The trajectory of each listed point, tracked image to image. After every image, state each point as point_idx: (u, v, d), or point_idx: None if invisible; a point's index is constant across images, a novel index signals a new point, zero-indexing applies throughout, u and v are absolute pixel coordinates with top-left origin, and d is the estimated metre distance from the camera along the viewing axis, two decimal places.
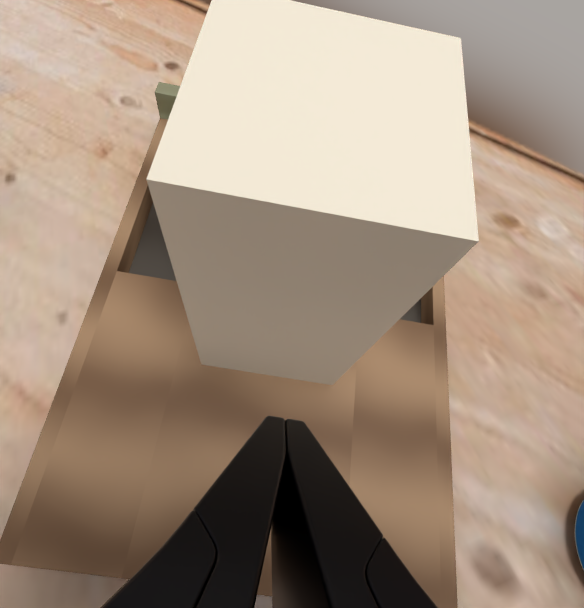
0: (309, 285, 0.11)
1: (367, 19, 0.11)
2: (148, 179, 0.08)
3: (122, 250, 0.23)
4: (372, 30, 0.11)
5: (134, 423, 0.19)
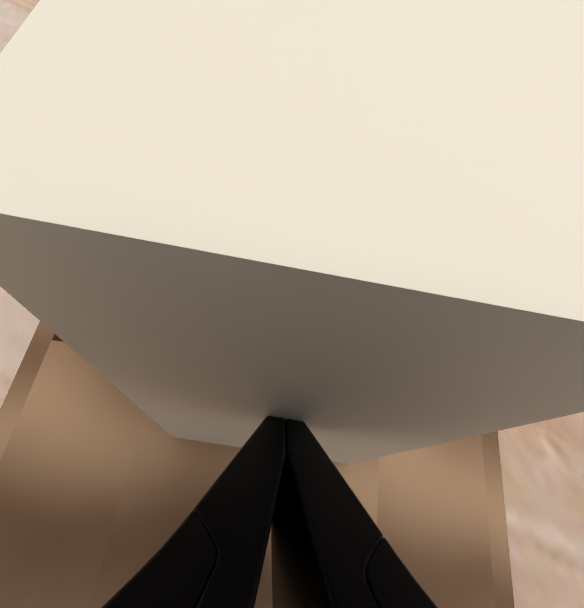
0: (335, 391, 0.06)
1: None
2: None
3: None
4: None
5: (58, 578, 0.13)
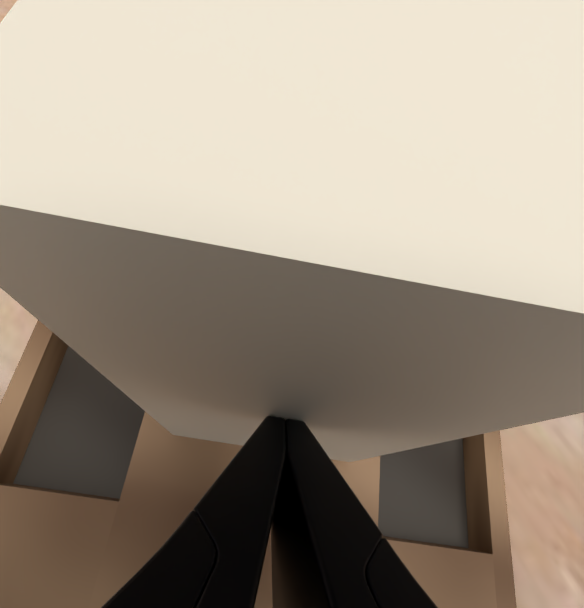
0: (338, 389, 0.06)
1: None
2: None
3: (3, 441, 0.14)
4: None
5: None
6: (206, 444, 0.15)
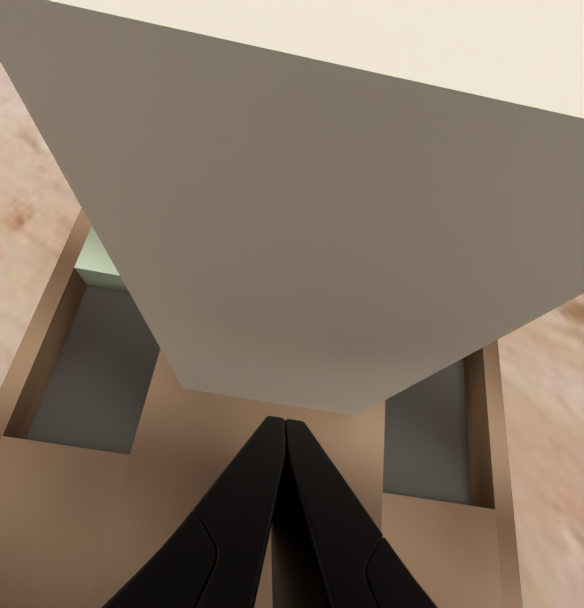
0: (352, 281, 0.06)
1: None
2: None
3: (16, 397, 0.15)
4: None
5: None
6: (215, 402, 0.15)
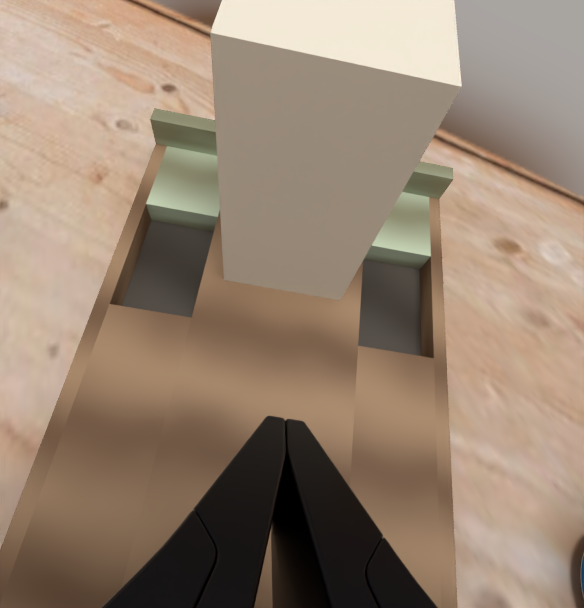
0: (327, 154, 0.14)
1: None
2: (211, 32, 0.11)
3: (115, 282, 0.22)
4: None
5: (125, 466, 0.18)
6: (245, 289, 0.23)
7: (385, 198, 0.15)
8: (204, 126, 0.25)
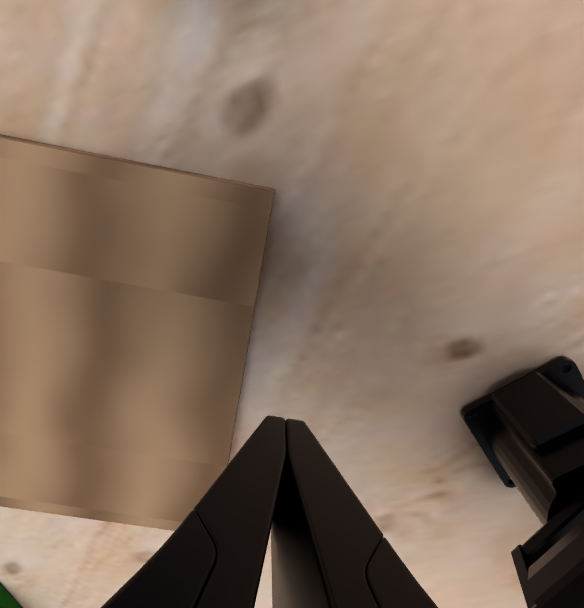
0: None
1: None
2: None
3: None
4: None
5: (112, 467, 0.22)
6: None
7: None
8: None
